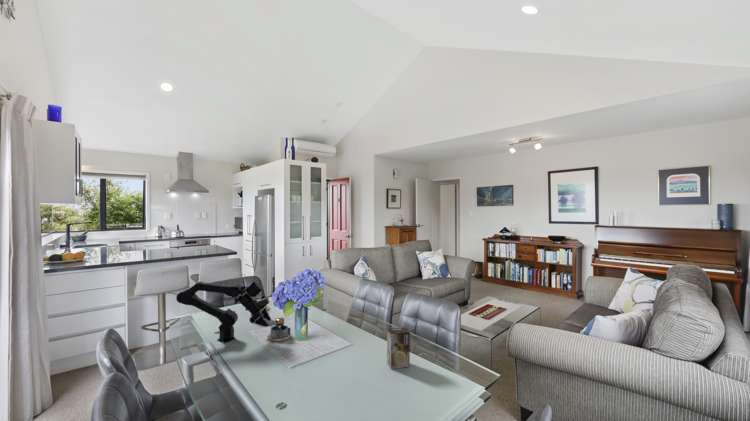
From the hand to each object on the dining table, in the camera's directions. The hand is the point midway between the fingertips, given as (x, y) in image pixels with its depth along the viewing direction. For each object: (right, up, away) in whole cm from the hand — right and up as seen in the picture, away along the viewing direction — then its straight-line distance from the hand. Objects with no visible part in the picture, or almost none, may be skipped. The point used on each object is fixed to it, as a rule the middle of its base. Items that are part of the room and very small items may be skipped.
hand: (269, 323), depth 175 cm
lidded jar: (-14, -8, +26) cm, 30 cm away
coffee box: (+68, -10, -28) cm, 74 cm away
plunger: (+5, -7, +1) cm, 9 cm away
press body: (+5, -8, +1) cm, 10 cm away
